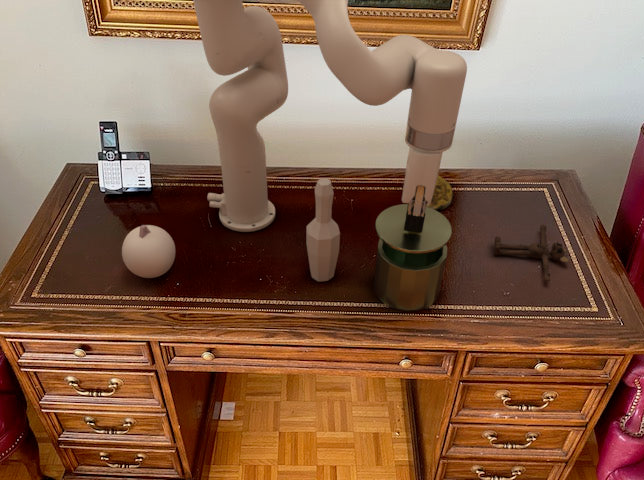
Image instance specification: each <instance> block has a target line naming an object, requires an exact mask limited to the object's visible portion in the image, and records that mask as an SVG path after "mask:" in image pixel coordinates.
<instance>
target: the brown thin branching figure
mask: <svg viewBox="0 0 644 480" xmlns="http://www.w3.org/2000/svg"><path fill="white" fill-rule="evenodd" d="M547 228H548V227H547V225H545V224H541V225H539V230H540V243H539V242H532V243H530V244H529V245H523V244H508V243H507V244H506V243H501V242H502V241H501V239H502V238H501V237H500V236H499V235H496V236H495V238H494V247H493V248H494V249H493V250H494V251H493V252H494V253H493V254H494V256H500V255H501V256H509V257H510V256H511V257H512V256H517V257H518V256H519V257H529V258H532V259H541V262H542V268H543V281H544V282H550V281H551V272H550V265H549V262H550V261H549V256H550V257H551V259H552V260H553V261H555V262H562V263H565V264H566V263H569V262H570V259H569V258H568V257H567V256H566V253H568V249H567V248H566V247H563V244H562V243H559V242H558V241H557V242H554V243H553V244H552V245H551V249H550V251H549V247H548V246H549V245H548V241H547Z"/></svg>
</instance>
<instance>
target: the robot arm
mask: <svg viewBox="0 0 644 480" xmlns="http://www.w3.org/2000/svg"><path fill="white" fill-rule="evenodd" d="M192 2H193V7H194V11H195V16H196V20H197V25H198V29H199V33H200V38H201V41H202V42H201V43H202V47H203V51H204V54H205V58H206V61H207V63H208V66H209V67H210V69H211V70H212V71H213V73H215V74H216V75H219V76H224V77H226V76H231V75H234V74H237V73H239V72H241V71H243V70H244V71H243V72H241V73H239V74H237V75H235V76H234V77H232V78H230V79H228V80H226V81H225V82H223V83H221V84H220V85H219V86H218V87H216V88H215V90H214V91H213V92H212V94H211V95H210V99H209V101H208V102H209V103H208V110H209V114H210V117H211V120H212V123H213V126H214V130H215V133H216V137H217V145H218V152H219V161H220V168H221V179H222V187H223V192H222V193H221V194H219V193H216V192H215V193H214V192H208V193H207V197H206V198H207V202H209V208H215V209H217V208H218V209H219V211H218V216H219V221H220V222H221V224H222V225H223V226H224V227H226V228H227V229H230V230H232V231H235V232H241V233H250V232H256V231H260V230H263V229H264V228H267V227H268V226H270V225H271V224H272V223H273V222H274V220H275V218H276V208H275V205H274V204H273V203H272V202H271V201H270V200H269V198H268V176H267V174H268V173H267V153H266V144H265V140H264V138H263V136H262V135H261V133H260V132H259V131H258V128H257V126H258V123H259V122H261V121H262V120H264V119H265V118H267V117H268V116H269V115H271V114H273V113H274V112H276V111H278V110H279V109H280V108H281V107H282V106H283V105H284V104H285V103H286V101H287V98H288V96H289V79H288V72H287V67H286V58H285V52H284V45H283V38H282V34H281V30H280V28H279V25H278V23H277V21H276V19H275V18H274V16H273V15H272V14H271V13H270V12H269V11H268V10H267V9H265V8H264V7H262V6H257V5H251V6H246V7H244V5H243V0H192ZM298 2H299V3H300V4H301V5H302V7H304V9H305V10H306V11H307V12H308V13H309V14H310V16H311V17H312V19H313V22H314V28H315V29H314V30H315V35H316V40H317V44H318V47H319V49H320V52H321V56H322V58H323V60H324V62H325V64H326V66H327V67H328V69H329V70H330V72H331V74H333V75H334V76H335V78H336V79H337V80H338V81H339V82H340V83H341V85H342V86H343V87H344V88H345V89H346V90H347V91H348V93H350V94H351V95H352V96H353V97H355V99H356V100H357V101H359V102H361V103H362V104H365V105H369V106H372V107H373V106H375V107H378V106H382V105H384V104H386V103H388V102H390V101H391V100H393V99H394V98H395V97H397V96H398V95H399V94H401V93H402V92H403V91H406V90H409V89H410V90H411V93H410V100H409V108H408V114H407V120H406V121H407V122H406V128H405V129H406V130H405V135H404V142H405V144H406V145H407V146H408V148H409V149H408V154H407V159H406V166H405V171H404V179H403V180H404V181H403V187H402V193H401V194H402V195H401V202H402V203H403V204H409V202H410V204H409V210H408V206H407V212H406V220H405V226H404V230H405V231H409V232H417V233H421V232H422V230H423V225H424V219H425V209H426V208H425V207H426V205H427V206H428V205H430V204H431V200H432V196H433V193H434V189H435V185H436V181H437V177H438V175H439V171H440V167H441V162H442V158H443V153H444V152H446V151H448V150H450V148H451V147H452V145H453V142H454V136H455V131H456V127H457V122H458V117H459V113H460V108H461V102H462V97H463V93H464V88H465V84H466V83H465V82H466V78H467V72H468V65H467V61H466V59H465V58H464V57H463V56H461V55H460V54H458V53H456V52H455V51H450V50H446V49H445V50H443V49H438V48H436V47H434V46H432V45H430V44H429V43H427V42H424V41H423V40H422V39H420V38H417V37H415V36H413V35H409V34H399V35H396V36H393V37H392V38H391V39H389V40H387V41H386V42H384V43H382V44H380V45H379V46H378V47H377V46H376V47H375V49H372V50H370V48H368V46H367V45H366V44H365V43H364V42H363V41H362V40H361V37H359V36H358V34H357V33H356V31H355V30H354V28H353V26H352V23H351V20H350V18H349V11H348V9H349V8H348V7H349V0H298ZM245 69H247V70H245ZM413 203H415V204H414V206H413V207H412V205H413ZM422 204H423V205H422Z"/></svg>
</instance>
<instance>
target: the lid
mask: <svg viewBox="0 0 644 480" xmlns="http://www.w3.org/2000/svg"><path fill="white" fill-rule="evenodd" d="M409 204H410V202H409ZM409 204H408V203H403V204H402V203H401V204H397V205H392V206H389V207H387V208H386V209H384V210H382V211H381V212H380V213H379V215H377V218H376V220H375V225H374V228H375V232H376V234H377V236H378V238H379V239H381V240H382V241H383V242H384V243H386V244H387V245H389V246H390V247H392V248H394V249H397V250H399V251H403V252H408V253H429V252H433V251H436V250H438V249H440V248H442V247H443V246H445V245H446V246H447V244H448V243H449V242H450V240H451V237H452V232H453V230H452V224H451V222H450V221H449V220H448V218H447V217H446V216H445V215H444V214H442V213H441V212H439V210H437V211H436V210H434V209H431V208H429V207H425V208H426V209H425V219H424V225H423V230H422V232H421V233H417V232H409V231H405V230H404V226H405V220H406V212H407V206H408V210H409ZM414 204H415V203H413V205H412V207H413V206H414ZM422 205H423V204H422Z"/></svg>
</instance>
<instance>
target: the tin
mask: <svg viewBox="0 0 644 480" xmlns="http://www.w3.org/2000/svg"><path fill="white" fill-rule="evenodd" d="M447 257H448V246H447V244H446V245H445V246H443V247H442V248H440V249H438V250H436V251H433V252H429V253H408V252H403V251H399V250H397V249H394V248H392V247H390V246H389V245H387V244H386V243H384V242H383V241H382V240H381V239H380V238H379V240H378V244H377V250H376V259H375V260H376V261H375V269H374V279H373V291H374V294H375V296H376V297H377V298H378V300H379V301H380V302H381V303H382V304H384V305H385V306H387V307H389V308H391V309H394V310H397V311H401V312H419V311H423V310H425V309H428V308H430V307H431V306H433V304H434V303H435V302H436V301H437V300H438V298H439V296H440V292H441V286H442V282H443V277H444V272H445V267H446V262H447Z"/></svg>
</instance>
